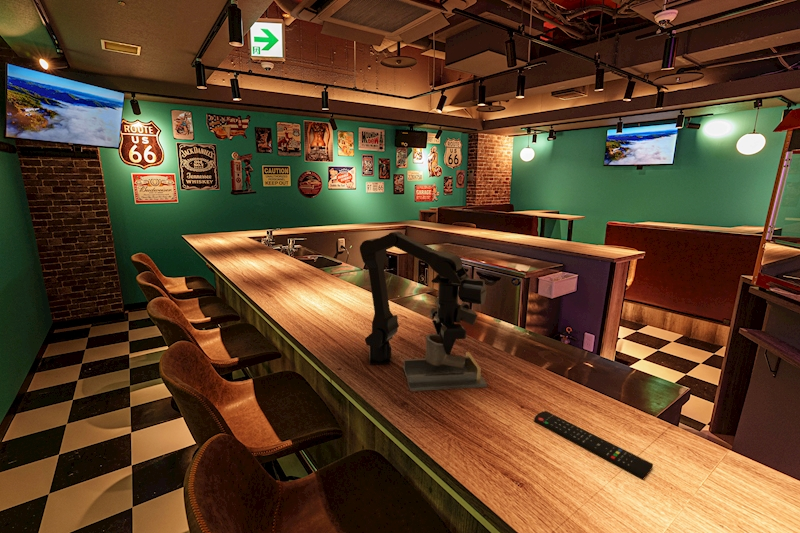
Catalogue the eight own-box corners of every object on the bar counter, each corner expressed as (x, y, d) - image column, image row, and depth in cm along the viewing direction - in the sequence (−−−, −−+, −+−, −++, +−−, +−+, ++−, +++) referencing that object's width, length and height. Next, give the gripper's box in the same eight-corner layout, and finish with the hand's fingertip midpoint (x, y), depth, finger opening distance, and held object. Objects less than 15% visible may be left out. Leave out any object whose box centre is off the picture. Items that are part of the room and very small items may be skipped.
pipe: (462, 375, 107) (469, 351, 105) (419, 364, 109) (424, 340, 106) (462, 364, 113) (468, 341, 111) (421, 353, 114) (426, 330, 112)
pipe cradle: (410, 391, 103) (410, 374, 102) (403, 367, 117) (403, 352, 116) (486, 387, 106) (487, 370, 105) (471, 364, 119) (472, 349, 118)
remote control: (642, 482, 73) (643, 476, 72) (531, 422, 91) (532, 417, 91) (652, 469, 76) (653, 464, 76) (543, 414, 94) (543, 409, 94)
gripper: (486, 308, 98) (482, 363, 102) (465, 289, 116) (462, 336, 120) (445, 309, 97) (442, 365, 100) (430, 290, 115) (428, 337, 118)
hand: (445, 350), depth 110 cm, fingers closed on pipe, 5 cm apart
